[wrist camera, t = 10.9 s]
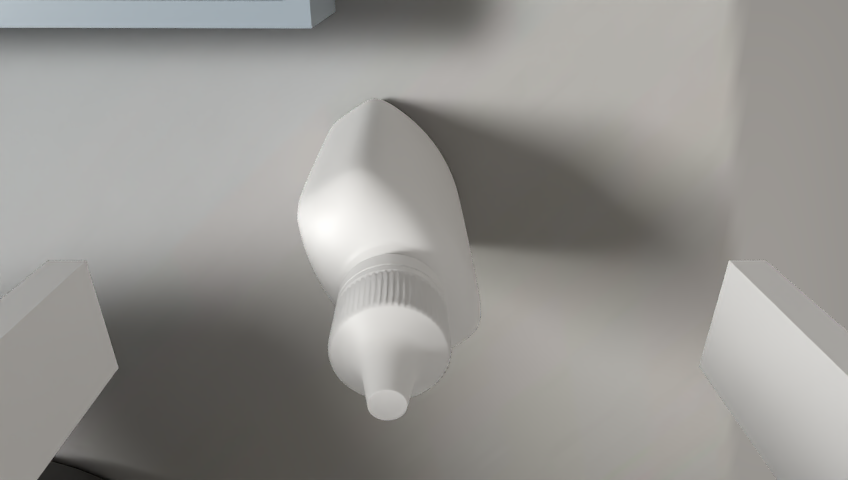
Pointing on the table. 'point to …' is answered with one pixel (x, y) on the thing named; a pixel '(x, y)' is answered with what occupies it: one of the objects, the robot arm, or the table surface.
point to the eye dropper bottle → (388, 255)
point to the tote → (164, 13)
